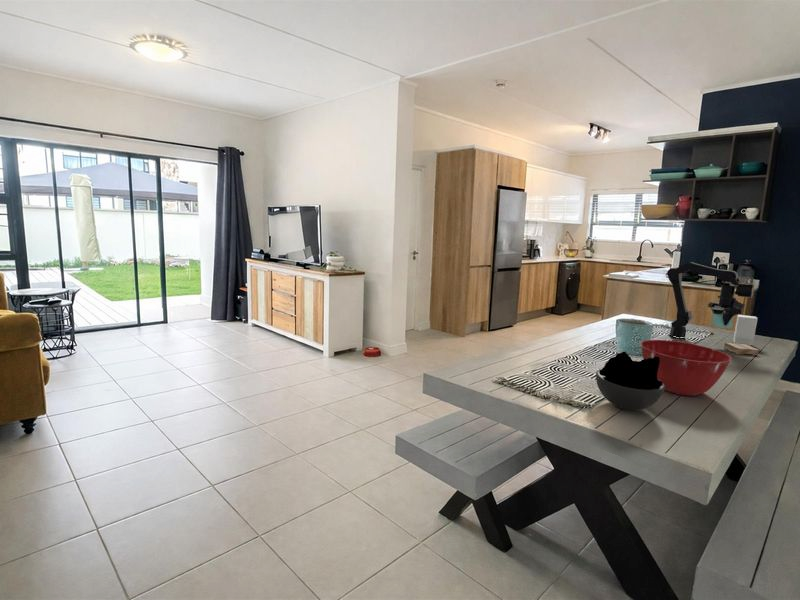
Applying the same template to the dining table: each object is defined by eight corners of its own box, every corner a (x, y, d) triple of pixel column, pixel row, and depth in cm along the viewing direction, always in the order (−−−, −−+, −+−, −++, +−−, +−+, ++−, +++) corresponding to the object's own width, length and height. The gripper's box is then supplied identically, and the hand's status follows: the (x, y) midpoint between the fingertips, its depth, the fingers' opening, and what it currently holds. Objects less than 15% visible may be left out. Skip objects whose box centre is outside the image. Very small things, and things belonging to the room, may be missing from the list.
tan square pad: (736, 354, 216) (737, 348, 216) (723, 348, 226) (725, 342, 225) (757, 355, 215) (759, 349, 215) (744, 349, 225) (745, 344, 225)
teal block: (718, 327, 226) (720, 316, 225) (711, 324, 232) (713, 313, 231) (730, 328, 226) (732, 316, 225) (723, 325, 231) (725, 314, 230)
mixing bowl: (617, 378, 171) (623, 340, 168) (669, 372, 181) (675, 337, 178) (686, 408, 145) (694, 364, 142) (741, 400, 155) (750, 359, 152)
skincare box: (751, 344, 238) (756, 316, 235) (752, 347, 232) (758, 318, 229) (732, 341, 242) (737, 314, 239) (733, 343, 237) (739, 316, 234)
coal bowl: (582, 404, 143) (590, 350, 140) (605, 390, 157) (613, 340, 154) (648, 427, 129) (659, 367, 126) (667, 409, 143) (677, 355, 140)
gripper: (756, 298, 216) (750, 329, 219) (731, 293, 234) (726, 321, 237) (732, 297, 217) (726, 327, 220) (709, 291, 235) (704, 319, 238)
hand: (721, 324), depth 229 cm, fingers closed on teal block, 6 cm apart
